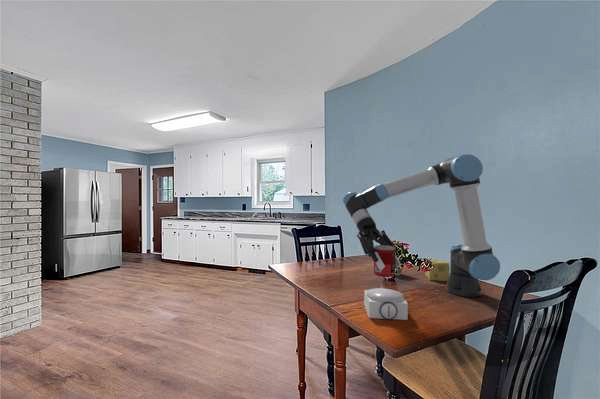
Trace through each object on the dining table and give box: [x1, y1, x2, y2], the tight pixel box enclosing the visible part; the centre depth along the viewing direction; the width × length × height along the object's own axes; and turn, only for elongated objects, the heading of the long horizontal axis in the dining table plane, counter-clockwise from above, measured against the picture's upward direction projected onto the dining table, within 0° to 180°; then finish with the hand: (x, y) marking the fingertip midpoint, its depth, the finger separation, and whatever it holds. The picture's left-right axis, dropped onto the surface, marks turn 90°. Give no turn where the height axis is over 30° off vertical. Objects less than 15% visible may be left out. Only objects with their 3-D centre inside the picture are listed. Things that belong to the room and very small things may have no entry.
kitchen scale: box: [363, 287, 409, 321], centre depth 115 cm, size 14×15×7 cm
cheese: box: [424, 258, 450, 282], centre depth 166 cm, size 10×11×10 cm
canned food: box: [373, 244, 396, 278], centre depth 116 cm, size 8×8×11 cm
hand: (390, 267), depth 113 cm, fingers closed on canned food, 8 cm apart
